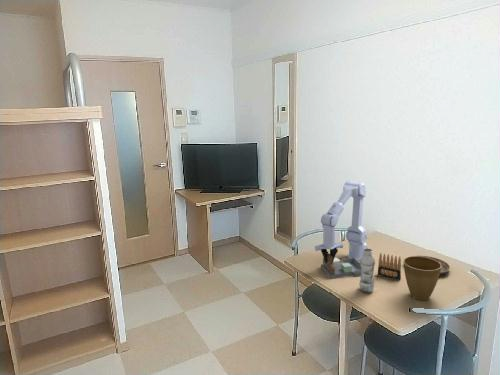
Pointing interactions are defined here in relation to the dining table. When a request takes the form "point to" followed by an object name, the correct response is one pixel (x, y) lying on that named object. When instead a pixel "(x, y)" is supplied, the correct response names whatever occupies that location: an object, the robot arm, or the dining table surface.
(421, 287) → the plant pot
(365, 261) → the plastic bottle
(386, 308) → the dining table surface
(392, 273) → the ammunition clip
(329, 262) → the walnut mallet
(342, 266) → the pale mint cube
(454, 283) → the dining table surface
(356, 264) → the tray
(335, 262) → the matte white cube
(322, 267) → the charcoal board
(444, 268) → the plant saucer
